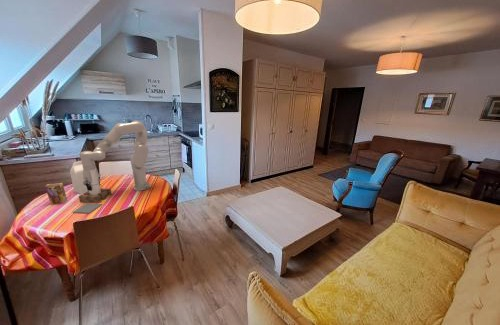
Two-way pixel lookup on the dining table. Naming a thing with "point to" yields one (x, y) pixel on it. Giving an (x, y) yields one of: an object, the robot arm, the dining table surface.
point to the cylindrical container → (94, 183)
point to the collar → (95, 196)
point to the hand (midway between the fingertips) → (94, 187)
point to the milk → (78, 178)
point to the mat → (87, 208)
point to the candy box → (56, 193)
